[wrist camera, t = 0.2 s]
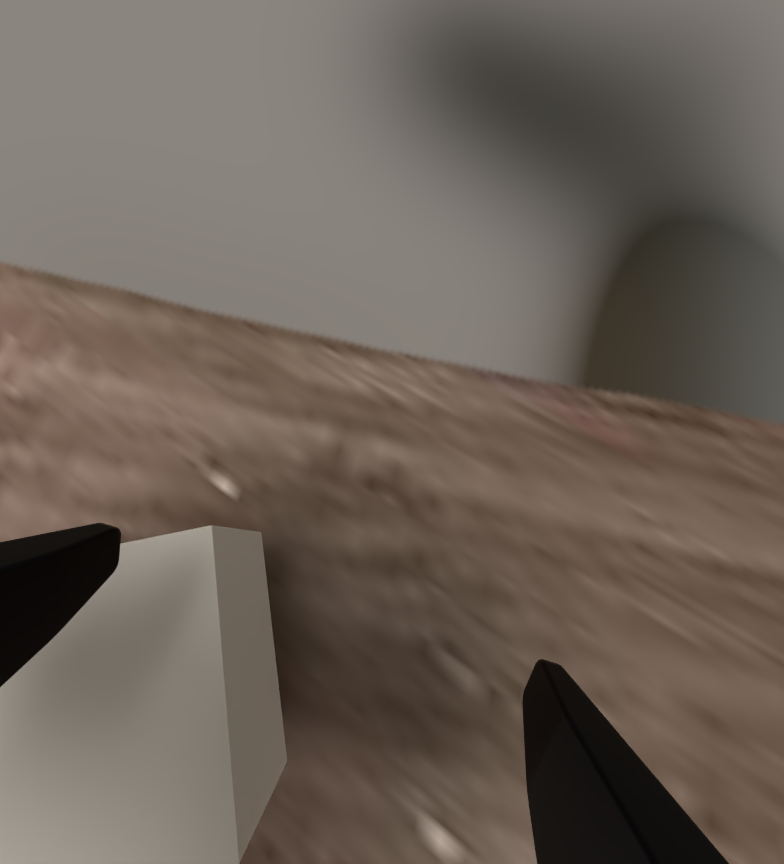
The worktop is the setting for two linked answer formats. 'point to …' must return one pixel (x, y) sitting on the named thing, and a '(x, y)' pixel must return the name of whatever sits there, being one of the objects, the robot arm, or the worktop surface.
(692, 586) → the worktop surface
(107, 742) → the gray overhanging block
